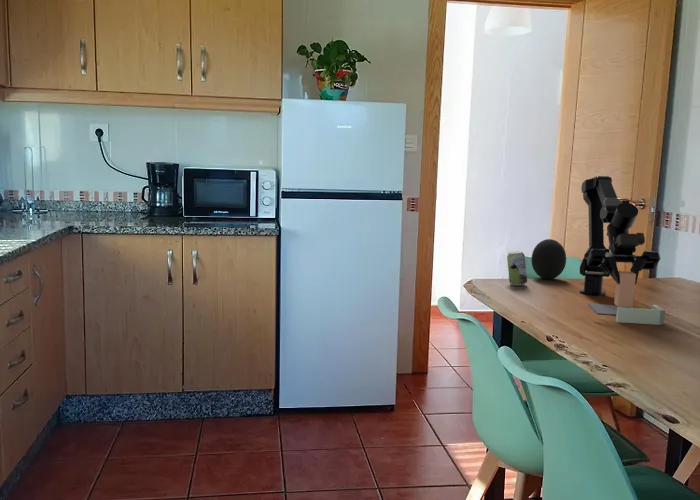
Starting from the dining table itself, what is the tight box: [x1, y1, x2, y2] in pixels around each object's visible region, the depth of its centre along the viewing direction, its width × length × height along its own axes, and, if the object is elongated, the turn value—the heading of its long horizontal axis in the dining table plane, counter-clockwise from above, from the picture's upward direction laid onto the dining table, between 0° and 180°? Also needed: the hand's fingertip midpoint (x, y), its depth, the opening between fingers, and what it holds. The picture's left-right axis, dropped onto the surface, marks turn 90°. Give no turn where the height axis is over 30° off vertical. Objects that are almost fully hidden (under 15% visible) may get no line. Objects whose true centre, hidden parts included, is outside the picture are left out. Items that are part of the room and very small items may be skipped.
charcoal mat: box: [587, 303, 631, 316], centre depth 184 cm, size 12×12×1 cm
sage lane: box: [615, 304, 666, 326], centre depth 172 cm, size 7×12×4 cm, turn 83°
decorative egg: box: [530, 238, 567, 280], centre depth 229 cm, size 12×12×15 cm
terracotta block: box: [613, 270, 636, 308], centre depth 174 cm, size 4×4×10 cm
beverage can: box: [506, 250, 528, 286], centre depth 217 cm, size 6×7×12 cm
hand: (627, 283), depth 172 cm, fingers closed on terracotta block, 4 cm apart
